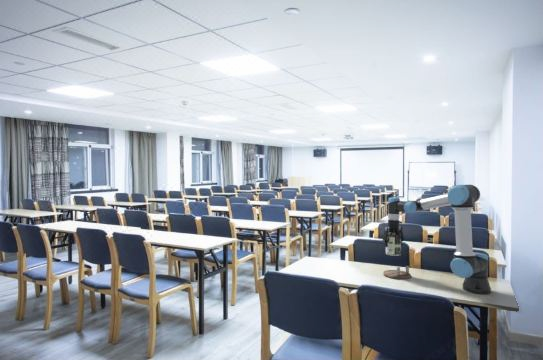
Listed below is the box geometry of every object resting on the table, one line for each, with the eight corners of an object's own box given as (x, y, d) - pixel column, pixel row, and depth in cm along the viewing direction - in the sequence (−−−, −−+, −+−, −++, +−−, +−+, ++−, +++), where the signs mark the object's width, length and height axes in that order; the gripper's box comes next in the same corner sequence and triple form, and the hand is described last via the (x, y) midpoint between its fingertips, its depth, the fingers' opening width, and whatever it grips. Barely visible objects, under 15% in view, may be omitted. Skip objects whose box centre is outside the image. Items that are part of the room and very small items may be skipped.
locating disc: (416, 277, 248) (416, 266, 248) (396, 280, 241) (396, 269, 241) (397, 270, 265) (397, 260, 265) (378, 273, 258) (378, 263, 257)
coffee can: (399, 252, 260) (400, 233, 260) (401, 256, 250) (402, 235, 250) (384, 252, 262) (385, 232, 262) (386, 255, 252) (386, 235, 252)
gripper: (402, 218, 264) (401, 248, 264) (377, 219, 255) (376, 251, 255) (409, 219, 257) (409, 250, 257) (384, 221, 248) (384, 253, 248)
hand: (393, 251), depth 256 cm, fingers closed on coffee can, 10 cm apart
